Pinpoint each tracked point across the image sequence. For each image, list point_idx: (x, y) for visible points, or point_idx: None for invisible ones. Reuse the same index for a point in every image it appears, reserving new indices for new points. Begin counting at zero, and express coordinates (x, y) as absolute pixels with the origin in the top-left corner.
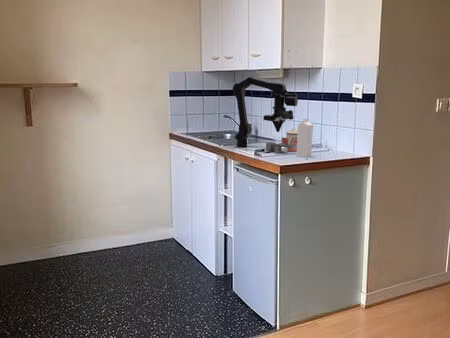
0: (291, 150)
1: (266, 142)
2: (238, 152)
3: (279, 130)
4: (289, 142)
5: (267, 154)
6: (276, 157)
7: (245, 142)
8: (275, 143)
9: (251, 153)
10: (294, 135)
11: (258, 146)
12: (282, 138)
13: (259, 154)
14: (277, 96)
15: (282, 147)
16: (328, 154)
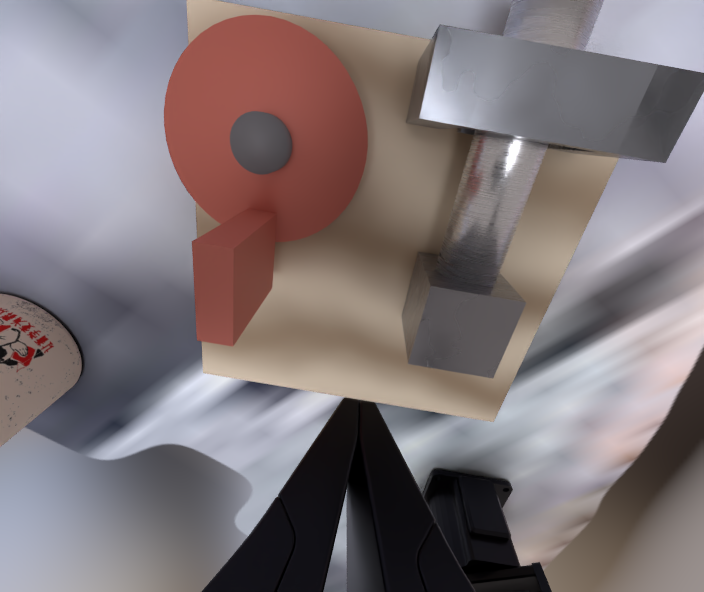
0: (335, 57)
1: (489, 377)
2: (611, 445)
3: (339, 416)
4: (40, 366)
5: None
6: (661, 51)
7: (491, 528)
8: (437, 284)
9: (589, 367)
10: None
11: (284, 482)
12: (237, 329)
13: (592, 297)
14: None
15: (579, 46)
16: None
